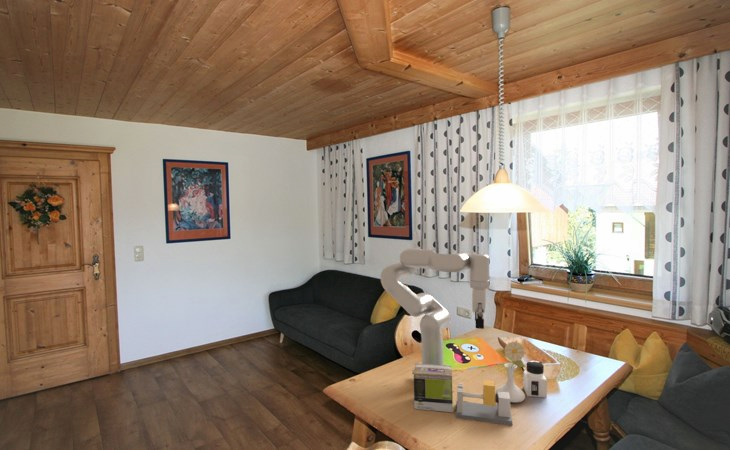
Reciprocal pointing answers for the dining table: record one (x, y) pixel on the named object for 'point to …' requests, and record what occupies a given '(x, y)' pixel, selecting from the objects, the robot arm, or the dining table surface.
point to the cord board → (483, 408)
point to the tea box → (433, 387)
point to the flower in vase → (513, 353)
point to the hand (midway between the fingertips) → (479, 324)
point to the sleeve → (489, 392)
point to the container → (535, 380)
